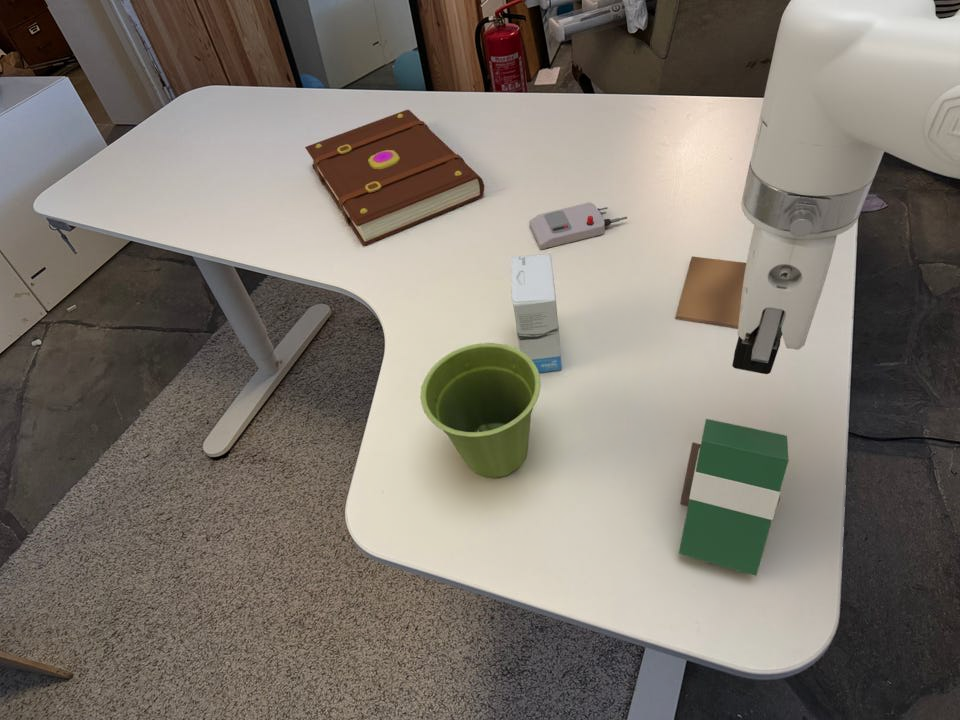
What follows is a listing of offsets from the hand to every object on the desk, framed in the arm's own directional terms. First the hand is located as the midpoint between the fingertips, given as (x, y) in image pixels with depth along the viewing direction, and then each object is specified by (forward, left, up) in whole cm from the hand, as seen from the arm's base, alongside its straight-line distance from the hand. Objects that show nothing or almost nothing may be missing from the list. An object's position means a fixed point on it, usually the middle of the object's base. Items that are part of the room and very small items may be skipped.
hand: (751, 364), depth 55 cm
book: (+63, -41, -12) cm, 76 cm away
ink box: (+24, -8, -12) cm, 28 cm away
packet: (0, +11, -12) cm, 16 cm away
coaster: (+3, -23, -12) cm, 26 cm away
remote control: (+27, -33, -12) cm, 44 cm away
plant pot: (+24, +8, -12) cm, 28 cm away
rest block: (0, +7, -12) cm, 14 cm away
